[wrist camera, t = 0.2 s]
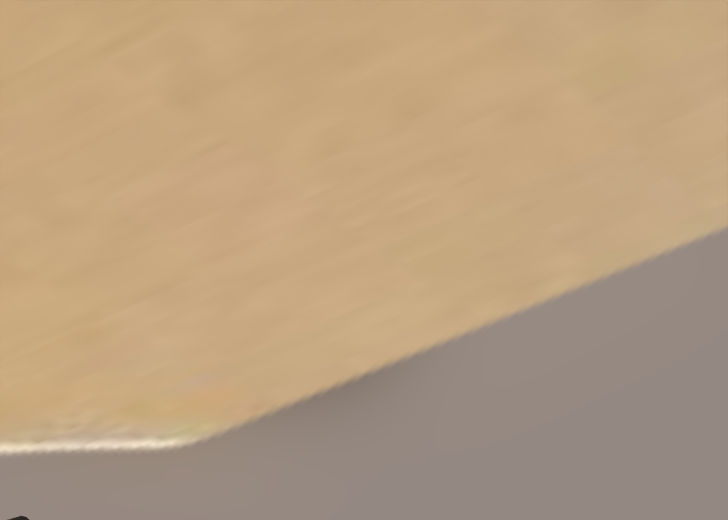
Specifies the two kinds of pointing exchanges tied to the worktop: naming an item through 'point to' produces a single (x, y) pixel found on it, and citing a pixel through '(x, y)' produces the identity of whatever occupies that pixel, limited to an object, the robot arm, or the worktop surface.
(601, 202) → the worktop surface
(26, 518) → the robot arm
